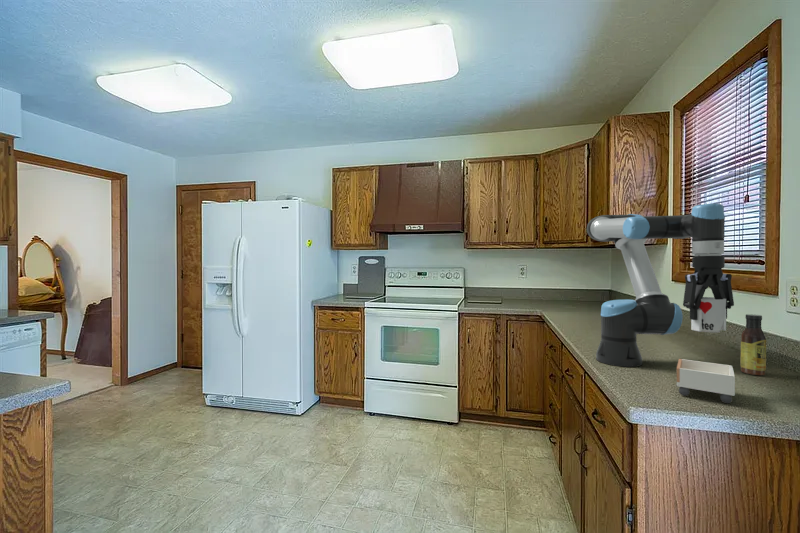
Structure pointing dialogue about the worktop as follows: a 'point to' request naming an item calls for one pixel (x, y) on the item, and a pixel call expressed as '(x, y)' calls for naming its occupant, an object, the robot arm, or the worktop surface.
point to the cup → (712, 313)
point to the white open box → (706, 378)
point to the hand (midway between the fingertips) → (708, 329)
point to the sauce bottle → (753, 347)
